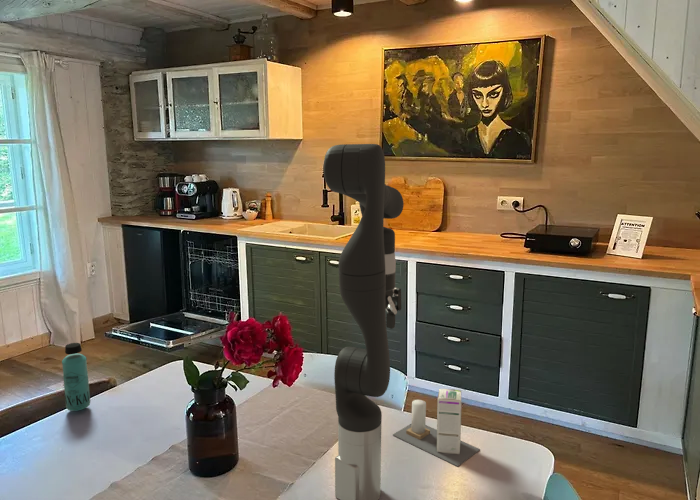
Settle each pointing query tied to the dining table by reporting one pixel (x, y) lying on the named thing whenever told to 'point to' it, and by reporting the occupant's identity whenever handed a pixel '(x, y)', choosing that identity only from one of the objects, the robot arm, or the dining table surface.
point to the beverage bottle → (75, 378)
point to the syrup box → (449, 421)
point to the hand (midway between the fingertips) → (379, 331)
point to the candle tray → (430, 437)
